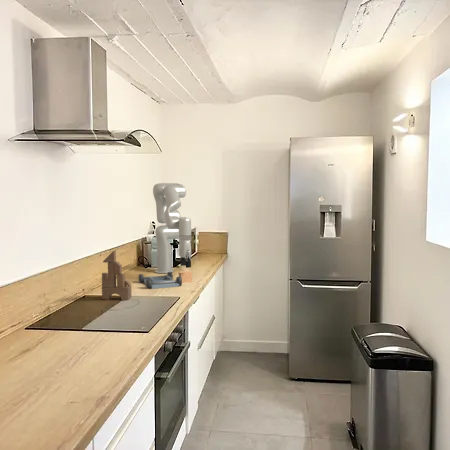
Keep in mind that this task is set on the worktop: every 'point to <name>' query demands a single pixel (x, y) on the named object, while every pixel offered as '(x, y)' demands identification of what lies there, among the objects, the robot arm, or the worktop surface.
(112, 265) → the wooden toy
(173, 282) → the chassis
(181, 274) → the block
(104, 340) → the worktop surface
